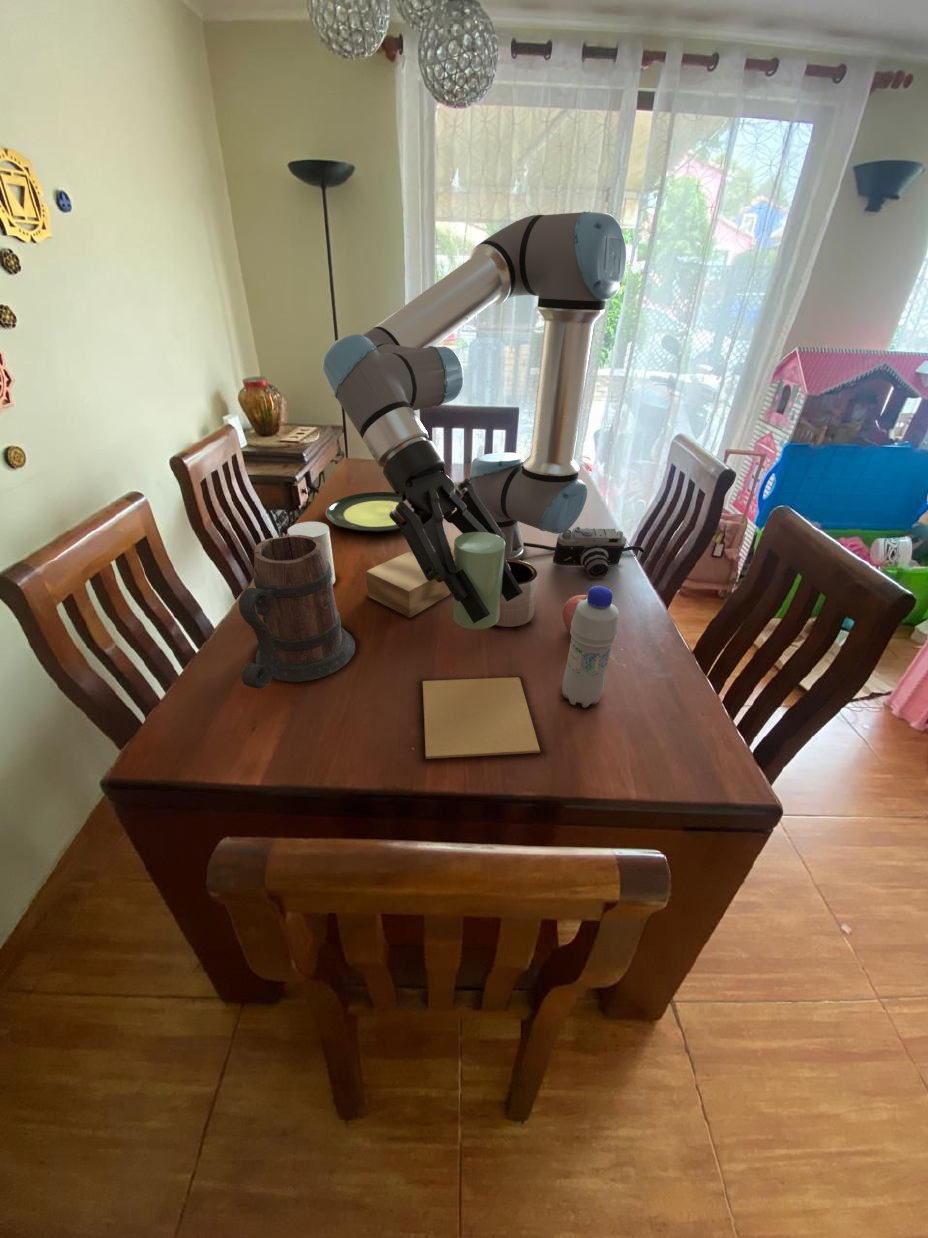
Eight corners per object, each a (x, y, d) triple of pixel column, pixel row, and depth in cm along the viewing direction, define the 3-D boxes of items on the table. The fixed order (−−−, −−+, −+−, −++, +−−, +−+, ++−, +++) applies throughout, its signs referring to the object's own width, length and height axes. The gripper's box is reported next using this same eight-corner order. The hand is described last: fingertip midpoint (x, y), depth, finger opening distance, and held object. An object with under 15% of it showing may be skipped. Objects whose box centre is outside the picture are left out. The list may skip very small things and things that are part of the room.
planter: (538, 605, 106) (543, 563, 101) (526, 634, 97) (531, 590, 92) (487, 595, 109) (490, 554, 104) (471, 622, 100) (473, 578, 95)
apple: (568, 617, 103) (573, 581, 98) (604, 628, 100) (611, 592, 95) (554, 635, 97) (559, 599, 93) (591, 648, 94) (599, 610, 90)
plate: (441, 505, 151) (441, 496, 150) (412, 544, 128) (412, 535, 127) (351, 495, 156) (351, 486, 155) (308, 531, 133) (306, 522, 132)
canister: (496, 603, 74) (501, 531, 68) (502, 628, 68) (509, 553, 62) (451, 604, 73) (452, 531, 67) (454, 630, 68) (456, 553, 62)
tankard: (290, 616, 100) (272, 519, 89) (371, 633, 96) (362, 533, 85) (207, 694, 81) (171, 583, 70) (303, 718, 78) (280, 604, 66)
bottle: (554, 684, 86) (571, 577, 75) (594, 682, 86) (617, 576, 75) (564, 712, 80) (584, 602, 69) (607, 711, 81) (633, 601, 70)
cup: (325, 592, 108) (318, 539, 101) (289, 588, 109) (279, 535, 103) (341, 574, 115) (335, 523, 108) (306, 570, 116) (298, 519, 109)
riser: (409, 575, 115) (408, 551, 112) (450, 594, 109) (450, 569, 105) (368, 596, 107) (365, 570, 104) (409, 618, 101) (408, 591, 98)
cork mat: (519, 679, 86) (519, 677, 86) (539, 752, 73) (540, 750, 73) (422, 683, 85) (422, 680, 85) (425, 759, 72) (425, 756, 71)
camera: (556, 583, 117) (565, 550, 109) (551, 557, 123) (558, 524, 115) (625, 583, 118) (638, 550, 110) (616, 557, 123) (628, 524, 116)
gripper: (440, 455, 76) (522, 590, 76) (334, 487, 63) (433, 649, 64) (470, 424, 70) (558, 570, 71) (359, 452, 58) (467, 630, 58)
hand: (498, 607), depth 67 cm, fingers closed on canister, 6 cm apart
